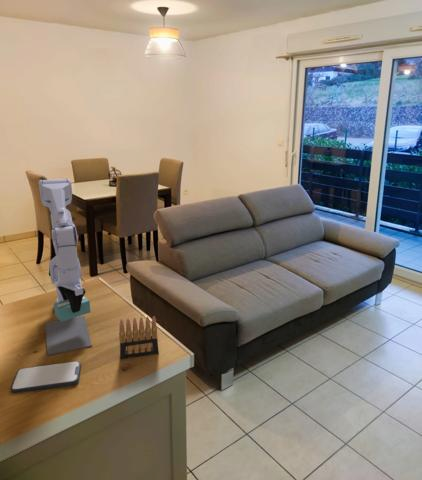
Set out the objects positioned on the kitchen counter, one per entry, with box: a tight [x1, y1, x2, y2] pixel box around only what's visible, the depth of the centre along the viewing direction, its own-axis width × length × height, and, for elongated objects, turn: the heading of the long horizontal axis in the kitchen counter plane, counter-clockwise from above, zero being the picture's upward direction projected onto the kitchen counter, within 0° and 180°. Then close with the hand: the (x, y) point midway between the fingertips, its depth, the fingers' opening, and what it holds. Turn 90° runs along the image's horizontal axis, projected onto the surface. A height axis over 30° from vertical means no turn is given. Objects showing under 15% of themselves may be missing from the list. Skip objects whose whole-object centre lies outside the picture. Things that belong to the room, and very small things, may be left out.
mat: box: [45, 315, 92, 356], centre depth 118 cm, size 18×12×1 cm, turn 24°
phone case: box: [9, 360, 82, 394], centre depth 100 cm, size 9×2×16 cm
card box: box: [53, 295, 91, 322], centre depth 117 cm, size 9×5×4 cm, turn 130°
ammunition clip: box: [118, 315, 160, 360], centre depth 108 cm, size 11×2×12 cm, turn 105°
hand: (72, 307), depth 117 cm, fingers closed on card box, 5 cm apart
